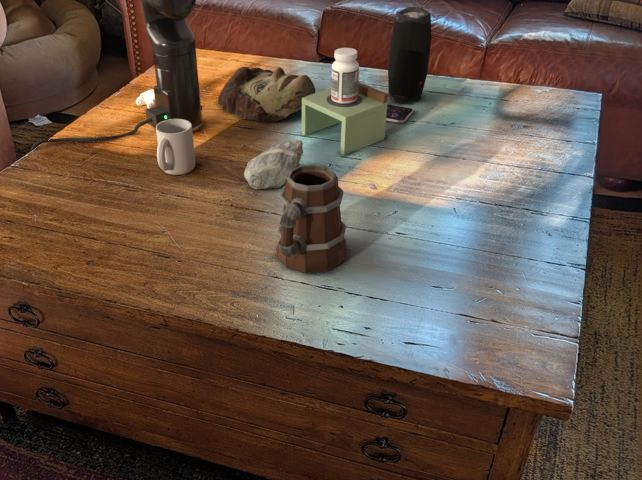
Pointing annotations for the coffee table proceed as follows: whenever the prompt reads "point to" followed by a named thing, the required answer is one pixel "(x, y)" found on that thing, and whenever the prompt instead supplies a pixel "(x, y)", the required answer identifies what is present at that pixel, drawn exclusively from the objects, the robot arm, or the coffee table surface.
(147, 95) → the astronaut figurine
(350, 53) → the pill bottle
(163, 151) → the cup
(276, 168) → the decorative stone
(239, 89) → the sculpture
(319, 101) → the green footstool with circle
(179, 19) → the robot arm
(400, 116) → the smartphone
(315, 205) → the mug
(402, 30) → the portable speaker
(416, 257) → the coffee table surface
